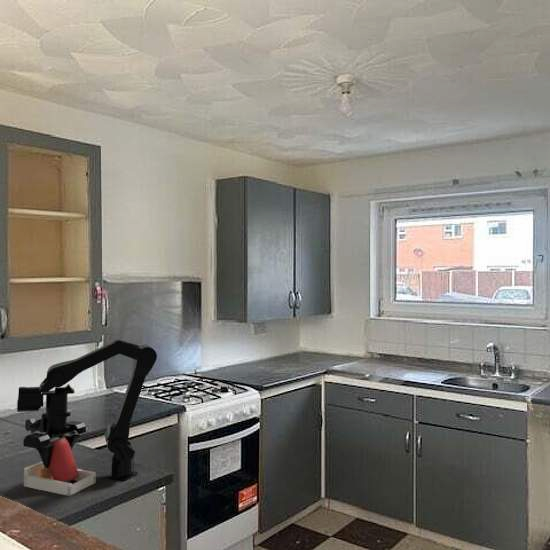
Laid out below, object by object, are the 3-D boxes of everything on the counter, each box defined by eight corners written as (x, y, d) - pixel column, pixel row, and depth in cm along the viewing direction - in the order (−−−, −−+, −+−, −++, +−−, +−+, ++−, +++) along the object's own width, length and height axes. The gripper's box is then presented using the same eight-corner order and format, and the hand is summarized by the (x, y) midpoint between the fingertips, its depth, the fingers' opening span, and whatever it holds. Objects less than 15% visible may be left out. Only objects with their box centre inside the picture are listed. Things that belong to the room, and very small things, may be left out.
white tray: (51, 474, 168) (52, 457, 168) (95, 482, 162) (96, 465, 162) (23, 486, 158) (24, 468, 158) (69, 495, 152) (69, 477, 152)
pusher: (58, 477, 165) (59, 455, 165) (61, 478, 165) (61, 455, 165) (38, 486, 158) (38, 463, 158) (40, 487, 158) (41, 464, 158)
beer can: (82, 474, 163) (69, 434, 164) (74, 479, 156) (61, 437, 158) (60, 483, 162) (48, 442, 164) (52, 488, 156) (39, 446, 157)
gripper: (58, 400, 172) (57, 451, 172) (8, 413, 155) (7, 470, 155) (87, 403, 168) (86, 456, 168) (39, 418, 151) (38, 476, 151)
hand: (55, 464), depth 161 cm, fingers closed on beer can, 6 cm apart
